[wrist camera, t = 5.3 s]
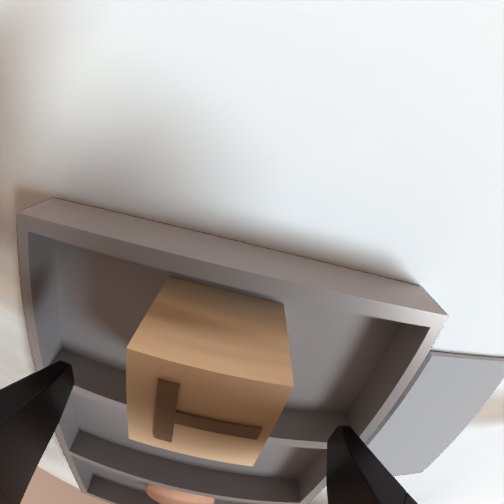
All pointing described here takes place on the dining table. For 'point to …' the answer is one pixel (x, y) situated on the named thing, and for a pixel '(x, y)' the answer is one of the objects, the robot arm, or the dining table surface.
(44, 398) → the robot arm
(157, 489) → the peach egg shape
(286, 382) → the letter cube
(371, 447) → the mat
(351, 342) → the organizer tray
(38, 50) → the dining table surface
